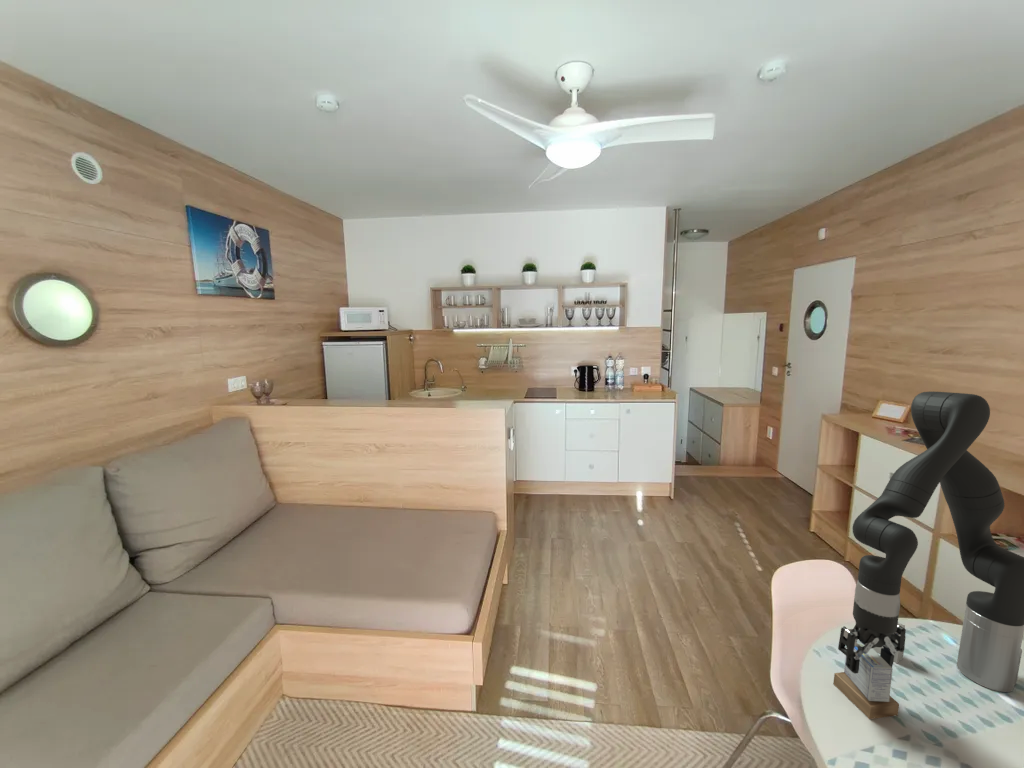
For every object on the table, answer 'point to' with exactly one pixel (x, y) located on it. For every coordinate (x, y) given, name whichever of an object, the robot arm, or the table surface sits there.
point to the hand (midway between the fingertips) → (868, 668)
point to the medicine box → (872, 676)
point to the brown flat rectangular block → (865, 699)
